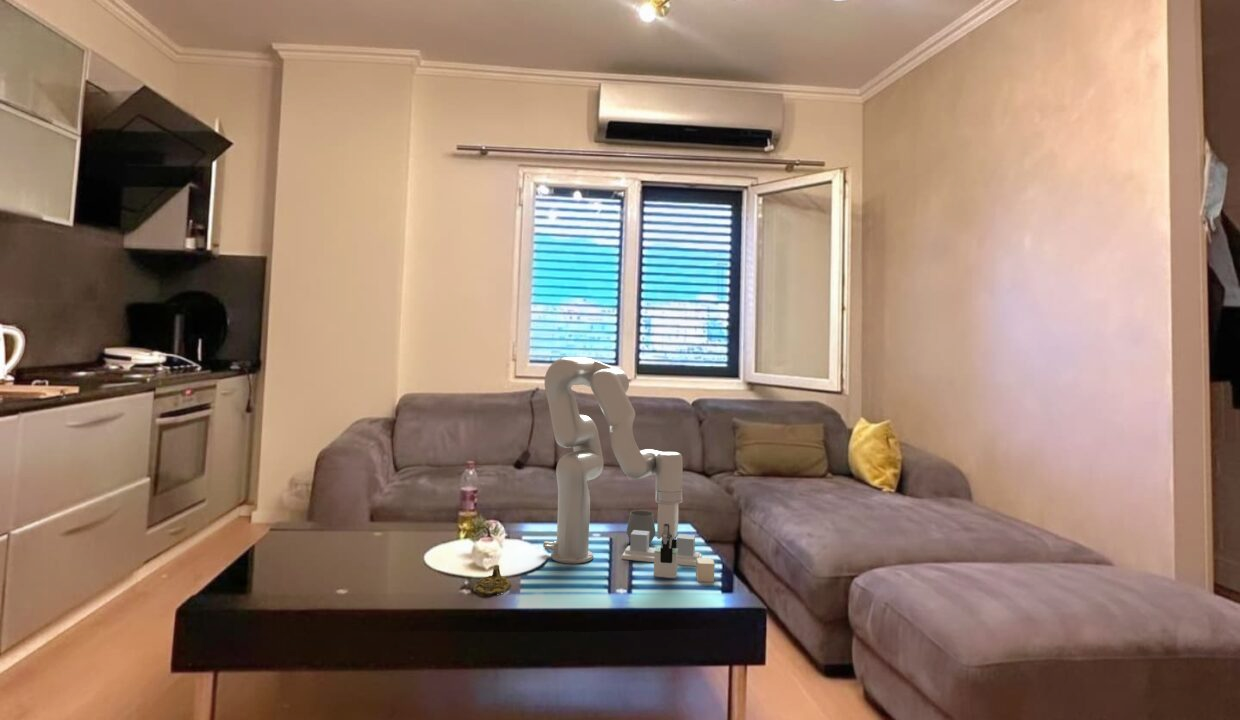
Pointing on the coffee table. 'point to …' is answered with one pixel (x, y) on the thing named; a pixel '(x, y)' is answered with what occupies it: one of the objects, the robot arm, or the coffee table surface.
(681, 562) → the rail board
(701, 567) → the block
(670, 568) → the module
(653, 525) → the cup
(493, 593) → the seal
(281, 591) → the coffee table surface
